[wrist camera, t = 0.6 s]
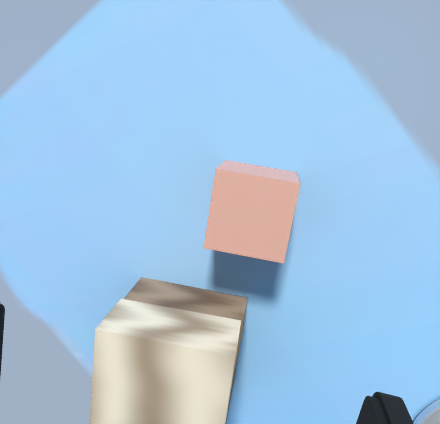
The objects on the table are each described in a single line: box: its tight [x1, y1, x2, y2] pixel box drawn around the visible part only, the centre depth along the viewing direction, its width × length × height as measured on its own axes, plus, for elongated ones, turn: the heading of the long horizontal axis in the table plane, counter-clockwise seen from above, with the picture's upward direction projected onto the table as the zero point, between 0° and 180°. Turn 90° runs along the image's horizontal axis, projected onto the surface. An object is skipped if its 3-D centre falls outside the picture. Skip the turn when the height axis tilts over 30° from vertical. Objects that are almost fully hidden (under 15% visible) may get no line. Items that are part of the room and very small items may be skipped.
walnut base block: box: [124, 277, 247, 424], centre depth 37 cm, size 10×10×5 cm
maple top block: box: [90, 299, 241, 424], centre depth 32 cm, size 10×10×5 cm
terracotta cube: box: [204, 160, 300, 263], centre depth 32 cm, size 6×6×6 cm
